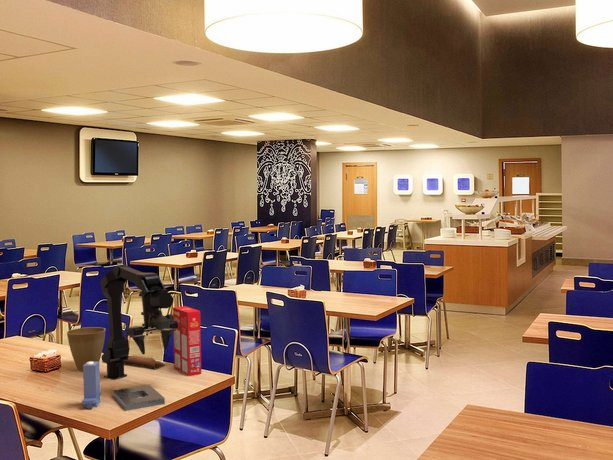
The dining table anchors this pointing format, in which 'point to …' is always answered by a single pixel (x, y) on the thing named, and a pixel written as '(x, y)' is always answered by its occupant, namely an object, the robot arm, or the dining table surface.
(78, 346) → the plant pot
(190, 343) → the food packaging
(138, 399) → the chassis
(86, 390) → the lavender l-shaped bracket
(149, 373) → the dining table surface
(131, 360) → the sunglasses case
